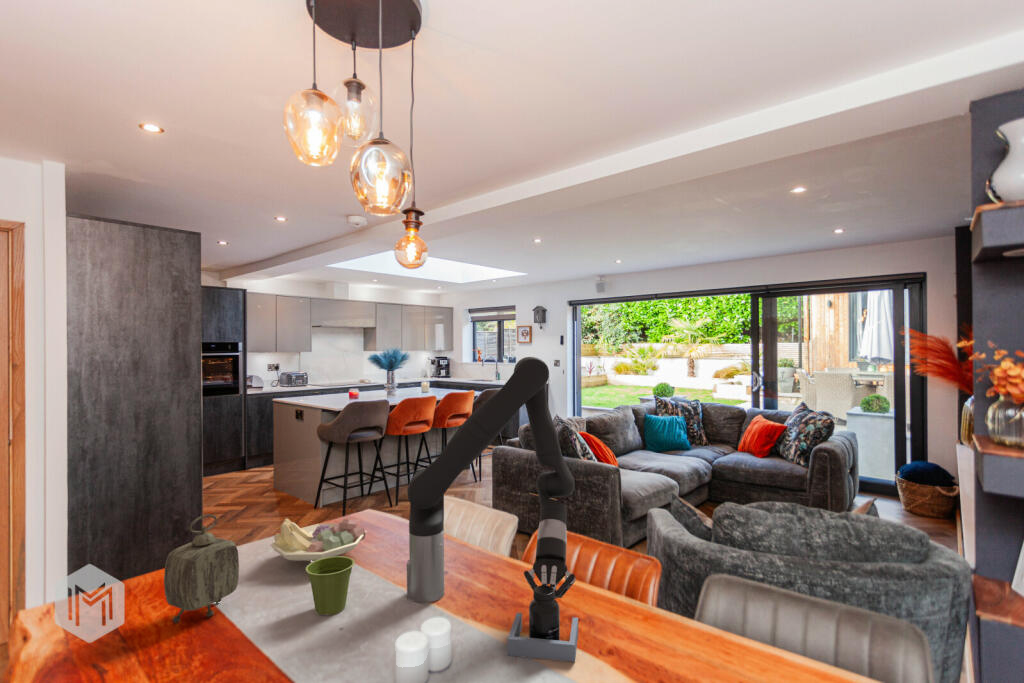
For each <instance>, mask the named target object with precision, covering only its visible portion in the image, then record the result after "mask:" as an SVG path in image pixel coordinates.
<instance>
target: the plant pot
mask: <svg viewBox="0 0 1024 683" xmlns="http://www.w3.org/2000/svg"><path fill="white" fill-rule="evenodd" d="M354 565H355V560H354V559H353V558H351V557H349V556H342V555H341V556H340V555H337V556H334V557H327V558H322V559H319V560H316V561H314V562H312V563H310V562H309V564H308V565H306V567H305V572H306V573H307V574H308V580H309V581H310V586H311V592H312V598H313V602H314V604H313V605H314V610H315V613H316V614H318V615H320V616H323V615H326V616H334V615H336V614H339V613H340V612H342V611H343V610H344V609H345V607H346V605H347V598H348V591H349V584H350V579H351V575H352V572H353V571H352V569H353V567H354Z"/></svg>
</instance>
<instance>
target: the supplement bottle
mask: <svg viewBox="0 0 1024 683" xmlns="http://www.w3.org/2000/svg"><path fill="white" fill-rule="evenodd" d="M532 591H533V590H532ZM560 609H561V608H560V605H559V603H558V601H557V599H555V590H554V588H553V587H550V585H548V586H546V585H542V584H541V585H537V587H535V588H534V591H533V595H532V600H531V601H530V603H529V605H528V617H529V618H528V638H537V639H548V640H559V641H561V637H560V636H561V634H560V633H561V630H560V629H561V627H560V626H561V625H560V624H561V622H560V617H561V615H560V611H561V610H560Z"/></svg>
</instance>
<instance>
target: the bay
mask: <svg viewBox="0 0 1024 683" xmlns="http://www.w3.org/2000/svg"><path fill="white" fill-rule="evenodd" d="M515 614H516V615H515V616H514V620H513V622H512V624H511V625H512V626H511V628H510V630H509V634H508V636H507V638H506V640H507V656H510V657H520V658H532V659H539V660H551V661H559V662H560V661H562V662H571V663H575V662H576V657H577V649H578V648H577V647H578V640H579V639H578V638H579V617H574V616H572V622H571V627H570V629H571V630H570V634H569V636H570V637H569V641H568V640H560V641H559V640H548V639H537V638H529V637H525V636H523V637H522V636H521V632H522V629H523V612H516V613H515Z"/></svg>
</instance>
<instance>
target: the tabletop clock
mask: <svg viewBox="0 0 1024 683" xmlns="http://www.w3.org/2000/svg"><path fill="white" fill-rule="evenodd" d="M205 518H213V519H214V522H213V524H211V525H210V526H209V527H207V526H205V525H202V526H201V528H200V529H201V530H193V528H192V527H193V526H194V525H195V523H196V522H197V521H200V520H202V519H205ZM217 522H218V518H217V516H216V515H214V514H210V513H209V514H203V515H200V516H198V517H197V518H195V519H194V520H193V521H192V522H191V523H190V525H189V531H190V533H192V534H197V535H195V537H194V538H193V540H192V541H191V542H188V543H186V544H183V545H181V546H179V547H177V548H175V549H173V550H172V551H171V552H169V553H168V554H167V558H166V561H165V566H164V572H163V573H164V577H163V586H164V588H163V589H164V596H165V600H166V602H167V604H168V605H169V606H172V607H175V608H178V609H180V611H179V612H178V615H175V616H174V617H173V618H172V623H175V624H177V623H179V622H180V621H181V616H182V615H183V613H184V612H185V611H187V612H190V611H191V612H192V611H196V610H200V609H202V608H204V607H207V612H206V617H207V618H211V617H210V616H212V615H213V616H214V613H215V612H214V610H212V608H211V605H212V604H214V603H215V602H216V603H215V604H219V603H218V602H220V601H221V602H222V600H223V599H224V598H225V597H227V596H229V595H231V594H232V593H233V592H235V591H236V590H237V588H238V585H239V580H240V579H239V572H240V563H239V562H240V559H239V558H240V557H239V550H238V547H237V545H236V542H235V541H234V540H230V539H224V538H221V537H215V535H214V534H213V533H211V532H208V531H210V530H211V529H213V528H214V527H215V526H216V525H217ZM221 602H220V603H221ZM213 616H212V617H213Z"/></svg>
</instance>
